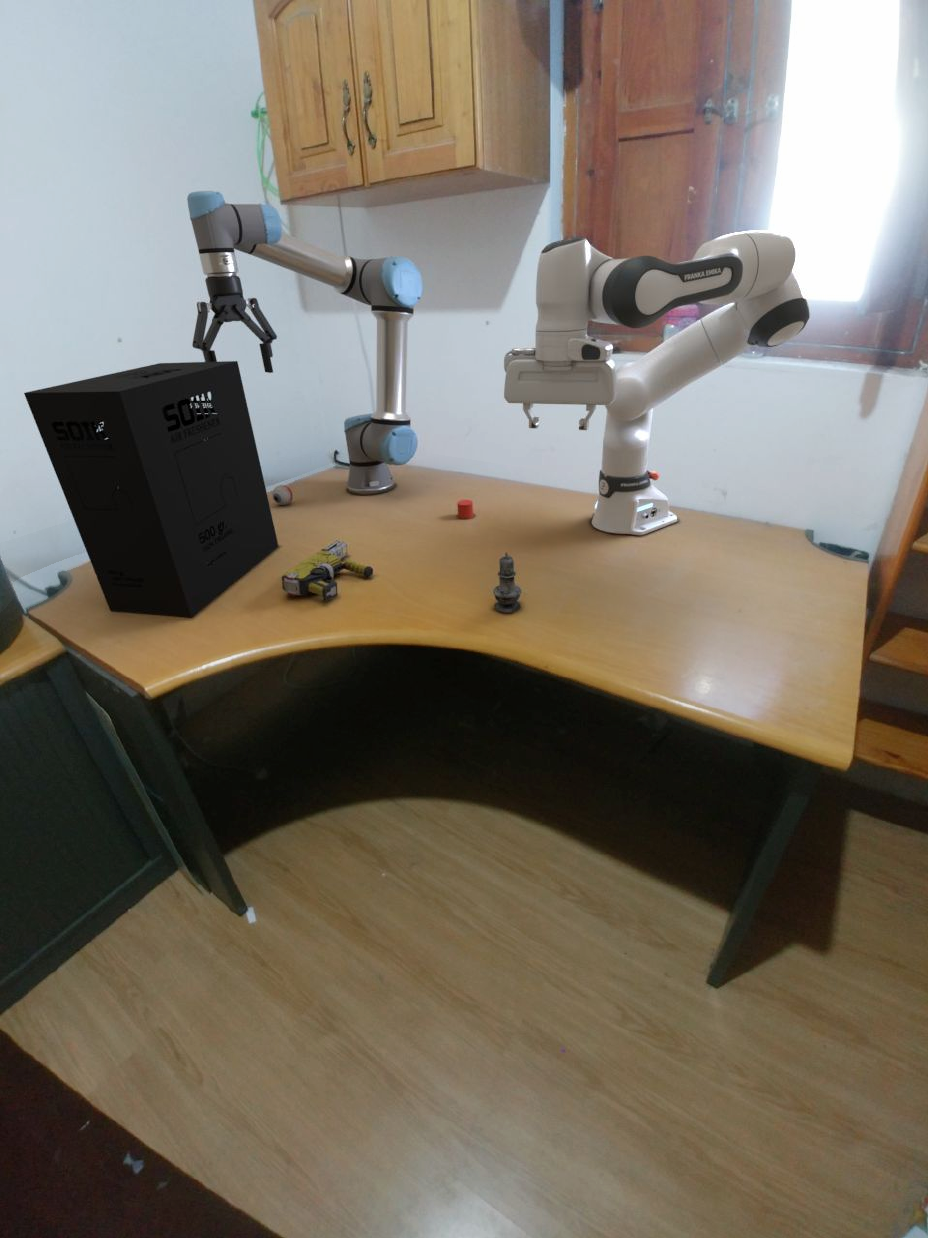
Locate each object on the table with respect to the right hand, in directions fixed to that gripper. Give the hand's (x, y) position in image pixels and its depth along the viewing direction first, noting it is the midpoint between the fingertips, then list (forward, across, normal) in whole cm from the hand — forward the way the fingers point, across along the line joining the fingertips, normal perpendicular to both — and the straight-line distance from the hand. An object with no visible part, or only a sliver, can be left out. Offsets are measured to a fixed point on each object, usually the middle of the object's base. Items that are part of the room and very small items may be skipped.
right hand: (558, 428), depth 112 cm
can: (+34, -34, +38) cm, 61 cm away
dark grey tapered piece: (+34, -7, -10) cm, 36 cm away
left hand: (-7, -81, +13) cm, 82 cm away
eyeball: (+34, -93, +34) cm, 105 cm away
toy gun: (+34, -49, -8) cm, 60 cm away
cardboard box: (+34, -82, -15) cm, 90 cm away
